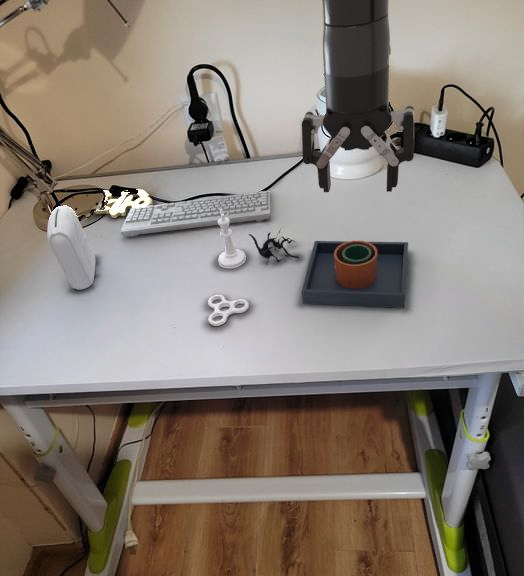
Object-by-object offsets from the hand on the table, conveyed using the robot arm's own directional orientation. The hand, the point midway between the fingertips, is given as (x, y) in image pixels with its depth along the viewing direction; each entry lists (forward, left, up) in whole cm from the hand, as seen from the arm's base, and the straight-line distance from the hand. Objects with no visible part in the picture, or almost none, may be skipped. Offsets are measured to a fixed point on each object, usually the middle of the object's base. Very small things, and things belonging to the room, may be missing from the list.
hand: (358, 189), depth 70 cm
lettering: (+57, -22, -15) cm, 63 cm away
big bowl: (0, 0, -15) cm, 15 cm away
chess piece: (+22, -4, -16) cm, 27 cm away
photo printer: (+49, +1, -16) cm, 52 cm away
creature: (+14, -6, -16) cm, 22 cm away
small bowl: (0, 0, -14) cm, 14 cm away
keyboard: (+33, -18, -15) cm, 41 cm away
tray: (0, 0, -15) cm, 15 cm away
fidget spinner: (+19, +9, -15) cm, 26 cm away
